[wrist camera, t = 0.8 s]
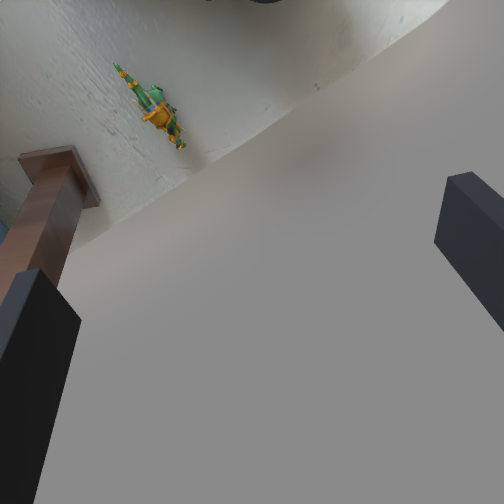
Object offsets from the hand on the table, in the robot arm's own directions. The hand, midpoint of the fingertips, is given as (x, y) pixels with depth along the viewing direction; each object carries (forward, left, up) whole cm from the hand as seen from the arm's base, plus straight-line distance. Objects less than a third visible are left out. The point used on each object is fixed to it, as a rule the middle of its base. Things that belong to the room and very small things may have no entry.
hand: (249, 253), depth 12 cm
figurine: (+7, -7, -40) cm, 41 cm away
